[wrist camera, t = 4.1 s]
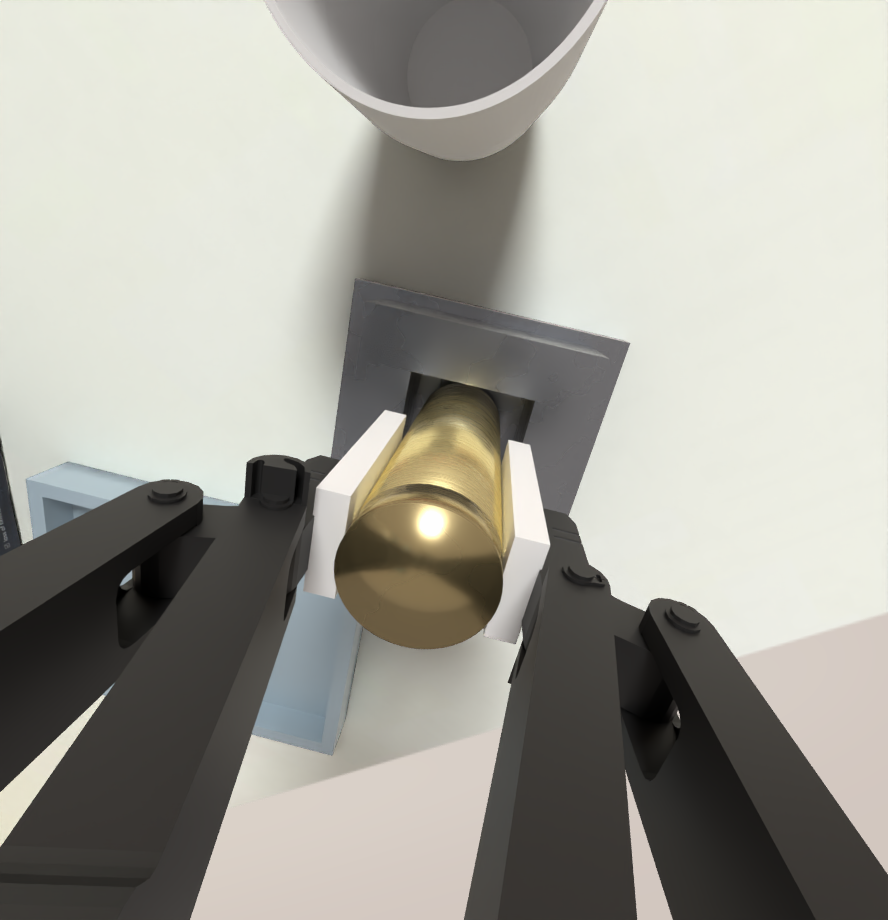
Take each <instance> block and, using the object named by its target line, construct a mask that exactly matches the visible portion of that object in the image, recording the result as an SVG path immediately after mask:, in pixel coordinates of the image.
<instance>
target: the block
mask: <svg viewBox="0 0 888 920" xmlns="http://www.w3.org/2000/svg"><path fill="white" fill-rule="evenodd" d="M629 345H630V343H629V342H626V341H624V340H620V339H615V338H611V337H607V336H603V335H598V334H594V333H590V332H586V331H581V330H577V329H573V328H569V327H564V326H560V325H556V324H552V323H547V322H543V321H539V320H535V319H530V318H526V317H522V316H518V315H513V314H509V313H505V312H500V311H496V310H492V309H488V308H483V307H479V306H475V305H471V304H466V303H462V302H458V301H454V300H449V299H445V298H441V297H437V296H432V295H428V294H424V293H420V292H415V291H411V290H407V289H403V288H398V287H394V286H390V285H386V284H381V283H377V282H373V281H369V280H364V279H355V285H354V293H353V300H352V307H351V315H350V322H349V329H348V337H347V344H346V351H345V359H344V366H343V373H342V381H341V388H340V395H339V403H338V410H337V417H336V425H335V432H334V439H333V447H332V454H331V458H334V459H338V460H341V459H342V458H343V457H344V456H345V455H346V454H347V452H348V451H349V450H350V449H351V448H352V447H353V446H354V444H355V443H356V442H357V441H358V440H359V439H360V438H361V437H362V435H363V434H364V433H365V432H366V431H367V430H368V429H369V428H370V426H371V425H372V424H373V423H374V422H375V421H376V420H377V419H378V417H379V416H380V415H381V414H382V413H383V412H384V411H385V410H387V411H391V412H396V413H400V414H404V415H406V421H405V426H404V431H403V436H402V440H403V438H404V437H405V435H406V433H407V432H408V430H409V428H410V427H411V425H412V423H413V422H414V420H415V418H416V417H417V415H418V413H419V412H420V410H421V409H422V407H423V405H424V404H425V402H426V400H427V399H428V398H429V396H430V395H431V394H433V393H434V392H435V391H436V390H438V389H440V388H441V387H444V386H446V385H450V384H456V383H462V384H466V385H471V386H475V387H477V388H479V389H481V390H482V391H484V392H485V393H486V394H488V395H489V397H490V398H491V399H492V400H493V402H494V403H495V405H496V407H497V409H498V412H499V417H500V448H501V464H502V460H503V457H504V453H505V450H506V446H507V443H508V440H512V441H516V442H520V443H524V444H528V445H530V447H531V452H532V457H533V462H534V467H535V472H536V477H537V481H538V486H539V491H540V496H541V501H542V506H543V508H545V509H549V510H553V511H557V512H561V513H565V514H567V515H568V516H569V513H570V510H571V507H572V504H573V502H574V499H575V496H576V493H577V490H578V488H579V485H580V482H581V479H582V476H583V474H584V471H585V468H586V465H587V462H588V460H589V457H590V454H591V451H592V448H593V446H594V443H595V440H596V437H597V434H598V432H599V429H600V426H601V423H602V420H603V418H604V415H605V412H606V409H607V406H608V404H609V401H610V398H611V395H612V392H613V390H614V387H615V384H616V381H617V378H618V376H619V373H620V370H621V367H622V364H623V362H624V359H625V356H626V353H627V350H628V348H629Z"/></svg>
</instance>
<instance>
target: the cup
mask: <svg viewBox="0 0 888 920" xmlns="http://www.w3.org/2000/svg"><path fill="white" fill-rule="evenodd" d="M607 1H608V0H264V2H265V4H266V6H267V8H268V9H269V11H270V13H271V15H272V17H273V18H274V20H275V21H276V23H277V25H278V26H279V28H280V29H281V31H282V32H283V34H284V35H285V37H286V38H287V39H288V41H289V42H290V44H291V45H292V46H293V47H294V49H295V50H296V51H297V52H298V54H299V55H300V56H301V57H302V58H303V59H304V60H305V61H306V62H307V63H308V65H309V66H310V67H311V68H312V69H313V70H315V71H316V72H317V73H318V74H319V75H320V76H321V77H322V78H323V79H324V80H325V81H326V82H328V83H329V84H330V85H331V86H332V87H333V88H334V89H335V90H336V91H338V92H339V93H340V94H341V95H342V96H343V97H344V98H345V99H346V100H347V101H349V102H350V103H351V104H352V105H353V106H354V107H355V108H356V109H357V110H358V111H360V112H361V113H362V114H363V115H364V116H365V117H366V118H367V119H368V120H369V121H371V122H372V123H373V124H374V125H375V126H376V127H377V128H379V129H380V130H381V131H382V132H384V133H385V134H387V135H388V136H390V137H391V138H393V139H395V140H396V141H398V142H400V143H402V144H404V145H406V146H409V147H411V148H414V149H416V150H419V151H421V152H424V153H426V154H429V155H431V156H434V157H437V158H440V159H444V160H450V161H471V160H477V159H481V158H485V157H488V156H490V155H493V154H495V153H497V152H499V151H501V150H503V149H504V148H506V147H508V146H509V145H510V144H512V143H513V142H515V141H516V140H517V139H518V138H519V137H520V136H522V135H523V134H524V133H525V132H526V131H527V130H528V128H529V127H530V126H531V125H532V124H533V123H534V122H535V121H536V119H537V118H538V117H539V116H540V115H541V114H542V113H543V112H544V111H545V109H546V108H547V107H548V106H549V105H550V104H551V103H552V101H553V100H554V99H555V98H556V96H557V95H558V94H559V92H560V91H561V90H562V88H563V87H564V85H565V84H566V82H567V81H568V79H569V77H570V76H571V74H572V72H573V70H574V68H575V67H576V65H577V63H578V61H579V59H580V56H581V54H582V52H583V50H584V48H585V46H586V44H587V42H588V40H589V38H590V36H591V34H592V32H593V30H594V28H595V26H596V24H597V21H598V19H599V17H600V15H601V13H602V11H603V9H604V7H605V5H606V3H607Z"/></svg>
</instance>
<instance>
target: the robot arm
mask: <svg viewBox="0 0 888 920" xmlns="http://www.w3.org/2000/svg"><path fill="white" fill-rule="evenodd" d="M405 421H406V415H404V414H400V413H396V412H391V411H387V410H385V411H384V412H383V413H382V414H381V415H380V416H379V417H378V419H377V420H376V421H375V422H374V423H373V424H372V425H371V426H370V428H369V429H368V430H367V431H366V432H365V433H364V434H363V435H362V437H361V438H360V439H359V440H358V441H357V442H356V443H355V444H354V446H353V447H352V448H351V449H350V450H349V451H348V452H347V454H346V455H345V456H344V457H343V458H342V459H341V460H338V459H334V458H330V457H326V456H322V455H320V456H317V457H314V458H311V459H308V460H306V461H305V462H304V461H301V460H299V459H297V458H293V457H289V456H283V455H263V456H259V457H255V458H252V459H251V460H250V461H248V462H247V466H246V482H245V497H244V498H243V500H242V501H241V503H240V504H239V506H222V505H207V504H203V491H202V490H201V489H200V487H199V486H196V485H194V484H192V483H189V482H184V481H180V480H170V479H168V480H160V481H155V482H149V483H146V484H144V485H141V486H138V487H136V488H134V489H132V490H130V491H128V492H126V493H124V494H122V495H120V496H118V497H116V498H114V499H112V500H110V501H108V502H106V503H104V504H102V505H100V506H98V507H97V508H95V509H93V510H91V511H89V512H87V513H85V514H83V515H81V516H79V517H77V518H75V519H73V520H71V521H69V522H67V523H65V524H63V525H61V526H59V527H57V528H55V529H53V530H51V531H49V532H47V533H45V534H43V535H41V536H39V537H37V538H35V539H33V540H31V541H29V542H27V543H25V544H23V545H21V546H19V547H17V548H15V549H13V550H11V551H9V552H7V553H5V554H4V555H2V556H0V792H1V791H2V790H3V789H4V788H5V787H6V786H7V785H8V784H9V783H10V782H11V781H12V780H13V779H14V778H15V777H17V776H18V775H19V774H20V773H21V772H22V771H23V770H24V769H25V768H26V767H27V766H28V765H29V764H30V763H31V762H32V761H33V760H34V759H35V758H36V757H37V756H39V755H40V754H41V753H42V752H43V751H44V750H45V749H46V748H47V747H48V746H49V745H50V744H51V743H52V742H53V741H54V740H55V739H56V738H57V737H58V736H59V735H61V734H62V733H63V732H64V731H65V730H66V729H67V728H68V727H69V726H70V725H71V724H72V723H73V722H74V721H75V720H76V719H77V718H78V717H79V716H80V715H82V714H83V713H84V712H85V711H86V710H87V709H88V708H89V707H90V706H91V705H92V704H93V703H94V702H95V701H96V700H97V699H98V698H99V697H100V696H101V695H102V694H104V693H105V692H106V691H107V690H108V689H109V688H110V687H111V686H112V685H113V684H114V683H115V684H114V685H113V686H112V688H111V689H110V691H109V692H108V694H107V695H106V696H105V698H104V699H103V701H102V702H101V704H100V705H99V707H98V708H97V709H96V711H95V712H94V714H93V715H92V717H91V718H90V719H89V721H88V722H87V724H86V725H85V727H84V728H83V729H82V731H81V732H80V734H79V735H78V737H77V738H76V740H75V741H74V742H73V744H72V745H71V747H70V748H69V750H68V751H67V752H66V754H65V755H64V757H63V758H62V760H61V761H60V762H59V764H58V765H57V767H56V768H55V770H54V771H53V773H52V774H51V775H50V777H49V778H48V780H47V781H46V783H45V784H44V785H43V787H42V788H41V790H40V791H39V793H38V794H37V795H36V797H35V798H34V800H33V801H32V803H31V804H30V806H29V807H28V808H27V810H26V811H25V813H24V814H23V816H22V817H21V818H20V820H19V821H18V823H17V824H16V826H15V827H14V828H13V830H12V831H11V833H10V834H9V836H8V837H7V839H6V840H5V841H4V843H3V844H2V846H1V847H0V920H190V918H191V914H192V912H193V909H194V906H195V903H196V899H197V896H198V893H199V891H200V888H201V885H202V882H203V879H204V876H205V873H206V869H207V866H208V864H209V860H210V857H211V854H212V851H213V848H214V845H215V842H216V839H217V836H218V833H219V830H220V827H221V824H222V821H223V818H224V815H225V812H226V809H227V806H228V803H229V800H230V797H231V794H232V791H233V788H234V785H235V782H236V779H237V776H238V773H239V770H240V767H241V764H242V761H243V758H244V755H245V752H246V749H247V746H248V743H249V740H250V737H251V734H252V731H253V728H254V725H255V722H256V719H257V716H258V713H259V710H260V707H261V704H262V701H263V698H264V695H265V692H266V689H267V686H268V683H269V680H270V677H271V674H272V671H273V668H274V665H275V662H276V659H277V656H278V652H279V649H280V646H281V643H282V640H283V637H284V634H285V631H286V628H287V625H288V622H289V619H290V616H291V613H292V610H293V607H294V604H295V600H296V592H297V585H298V583H299V582H300V580H301V579H302V577H303V576H304V574H305V580H304V588H303V591H305V592H309V593H313V594H317V595H321V596H325V597H329V598H333V599H335V597H336V595H337V593H338V591H337V588H336V584H335V579H334V560H335V556H336V552H337V549H338V547H339V544H340V542H341V540H342V539H343V537H344V535H345V534H346V532H347V530H348V529H349V527H350V525H351V524H352V522H353V521H354V519H355V517H356V516H357V514H358V512H359V511H360V509H361V507H362V506H363V504H364V502H365V501H366V499H367V497H368V496H369V494H370V493H371V491H372V489H373V488H374V486H375V484H376V483H377V481H378V479H379V478H380V476H381V474H382V473H383V471H384V469H385V468H386V466H387V465H388V463H389V461H390V460H391V458H392V456H393V455H394V453H395V451H396V450H397V448H398V446H399V445H400V443H401V441H402V436H403V431H404V426H405ZM501 500H502V551H503V591H502V596H501V601H500V603H499V606H498V608H497V611H496V612H495V614H494V616H493V617H492V619H491V620H490V621H489V622H488V624H487V625H486V626H485V627H484V637H488V638H492V639H496V640H500V641H504V642H508V643H512V644H516V642H517V639H518V636H519V633H520V630H521V627H522V632H523V641H522V644H521V647H520V649H519V652H518V655H517V658H516V661H515V663H514V666H513V669H512V672H511V675H510V677H509V680H508V683H510V684H511V688H510V693H509V698H508V703H507V708H506V713H505V718H504V723H503V728H502V733H501V738H500V743H499V748H498V753H497V758H496V763H495V768H494V773H493V778H492V783H491V788H490V793H489V798H488V803H487V808H486V813H485V818H484V823H483V827H482V832H481V837H480V843H479V848H478V853H477V858H476V862H475V867H474V873H473V877H472V882H471V888H470V892H469V897H468V902H467V907H466V912H465V917H464V920H637V913H636V900H635V887H634V875H633V864H632V850H631V838H630V826H629V814H628V800H627V790H626V789H627V788H626V776H625V770H626V773H627V776H628V780H629V783H630V786H631V789H632V792H633V795H634V799H635V802H636V805H637V808H638V811H639V814H640V817H641V820H642V824H643V827H644V830H645V833H646V836H647V840H648V843H649V845H650V848H651V852H652V855H653V858H654V861H655V865H656V868H657V871H658V874H659V877H660V880H661V884H662V887H663V890H664V893H665V896H666V899H667V902H668V906H669V909H670V912H671V915H672V918H673V920H888V874H887V873H886V872H885V870H884V869H883V867H882V866H881V864H880V863H879V861H878V860H877V859H876V857H875V856H874V854H873V853H872V852H871V850H870V849H869V847H868V846H867V844H866V843H865V842H864V840H863V839H862V837H861V836H860V834H859V833H858V831H857V830H856V829H855V827H854V826H853V824H852V823H851V822H850V820H849V819H848V817H847V816H846V814H845V813H844V811H843V810H842V809H841V807H840V806H839V804H838V803H837V802H836V800H835V799H834V797H833V796H832V794H831V793H830V792H829V790H828V789H827V787H826V786H825V785H824V783H823V782H822V780H821V779H820V777H819V776H818V775H817V773H816V772H815V770H814V769H813V767H812V766H811V764H810V763H809V762H808V760H807V759H806V757H805V756H804V755H803V753H802V752H801V750H800V749H799V747H798V746H797V744H796V743H795V742H794V740H793V739H792V738H791V736H790V734H789V733H788V732H787V730H786V729H785V727H784V726H783V724H782V723H781V722H780V720H779V719H778V718H777V716H776V715H775V713H774V712H773V710H772V709H771V707H770V706H769V705H768V703H767V702H766V700H765V699H764V697H763V696H762V695H761V693H760V692H759V690H758V689H757V688H756V686H755V685H754V683H753V682H752V680H751V679H750V677H749V676H748V675H747V673H746V672H745V670H744V669H743V667H742V666H741V665H740V663H739V662H738V660H737V659H736V657H735V656H734V655H733V653H732V652H731V650H730V649H729V647H728V646H727V645H726V643H725V642H724V640H723V639H722V637H721V636H720V635H719V633H718V632H717V630H716V629H715V628H714V626H713V625H712V624H711V623H710V622H709V621H708V620H707V619H706V618H705V617H704V616H703V615H701V614H700V613H698V612H697V611H696V610H695V609H694V608H692V607H690V606H687V605H686V604H684V603H682V602H677V601H674V600H671V599H664V598H657V599H654V600H651V602H650V604H649V606H648V608H647V610H646V612H645V611H643V610H640V609H638V608H636V607H634V606H631V605H629V604H627V603H625V602H623V601H621V600H619V599H617V598H615V597H613V596H612V595H611V590H610V585H609V582H608V580H607V579H606V577H605V576H604V575H603V574H602V573H601V572H600V571H598V570H597V569H595V568H594V567H592V566H591V565H589V564H588V560H587V557H586V554H585V551H584V548H583V545H582V544H581V543H582V542H581V539H580V536H579V533H578V530H577V527H576V524H575V523H574V522H573V521H572V520H571V519H570V518H569V517H568V515H567V514H565V513H561V512H557V511H553V510H549V509H545V508H543V506H542V501H541V496H540V491H539V486H538V481H537V477H536V472H535V467H534V462H533V457H532V452H531V447H530V445H528V444H524V443H520V442H516V441H512V440H508V443H507V446H506V450H505V453H504V457H503V460H502V464H501ZM131 571H132V579H130V580H129V581H128V582H126V583H125V584H123V585H121V586H120V584H121V582H122V581H123V579H124V578H125V577H126V576H127V575H128V574H129V573H130V572H131ZM678 710H679V713H680V719H679V717H678V715H677V711H678Z"/></svg>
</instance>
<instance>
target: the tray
mask: <svg viewBox="0 0 888 920" xmlns="http://www.w3.org/2000/svg"><path fill="white" fill-rule="evenodd" d="M146 483H149V482H147V481H143V480H139V479H135V478H131V477H127V476H123V475H119V474H115V473H111V472H107V471H103V470H99V469H95V468H91V467H87V466H83V465H79V464H75V463H71V462H66V463H64V464H61V465H59V466H56V467H54V468H51V469H49V470H47V471H44V472H42V473H39V474H37V475H34V476H32V477H29V478H27V479H26V484H27V492H28V500H29V508H30V516H31V524H32V532H33V539H35V538H37V537H39V536H41V535H43V534H45V533H47V532H49V531H51V530H53V529H55V528H57V527H59V526H61V525H63V524H65V523H67V522H69V521H71V520H73V519H75V518H77V517H79V516H81V515H83V514H85V513H87V512H89V511H91V510H93V509H95V508H97V507H98V506H100V505H102V504H104V503H106V502H108V501H110V500H112V499H114V498H116V497H118V496H120V495H122V494H124V493H126V492H128V491H130V490H132V489H134V488H136V487H138V486H141V485H144V484H146ZM203 504H207V505H222V506H239V504H235V503H231V502H227V501H223V500H219V499H215V498H211V497H207V496H203ZM130 579H132V571H131V572H130V573H129V574H128V575H127V576H126V577H125V578H124V579H123V581H122V582H121V584H120V586H121V585H123V584H125V583H126V582H128V581H129V580H130ZM304 580H305V574H304V576H303V577H302V579H301V580H300V582H299V583H298V585H297V592H296V600H295V604H294V607H293V610H292V613H291V616H290V619H289V622H288V625H287V628H286V631H285V634H284V637H283V640H282V643H281V646H280V649H279V652H278V656H277V659H276V662H275V665H274V668H273V671H272V674H271V677H270V680H269V683H268V686H267V689H266V692H265V695H264V698H263V701H262V704H261V707H260V710H259V713H258V716H257V719H256V722H255V725H254V728H253V731H252V735H256V736H260V737H264V738H268V739H271V740H275V741H279V742H283V743H286V744H290V745H294V746H298V747H302V748H305V749H309V750H313V751H317V752H320V753H324V754H328V755H333V753H334V750H335V747H336V744H337V741H338V739H339V736H340V733H341V730H342V727H343V725H344V722H345V718H346V713H347V708H348V702H349V697H350V692H351V687H352V681H353V676H354V671H355V666H356V661H357V655H358V650H359V645H360V640H361V634H362V629H363V626H362V625H361V624H359V623H358V622H357V621H356V620H355V619H354V617H353V616H352V615H351V614H350V613H349V611H348V610H347V609H346V607H345V606H344V604H343V602H342V600H341V598H340V596H339V593H337V595H336V597H335V599H333V598H329V597H325V596H321V595H317V594H313V593H309V592H305V591H303V588H304ZM114 684H115V683H114ZM114 684H113V685H114ZM113 685H112V686H113ZM112 686H111V687H110V688H109V689H108V690H107V691H106V692H105V693H104V694H102V695H105V696H106V695H107V694H108V692H109V691H110V689H111V688H112Z"/></svg>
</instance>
